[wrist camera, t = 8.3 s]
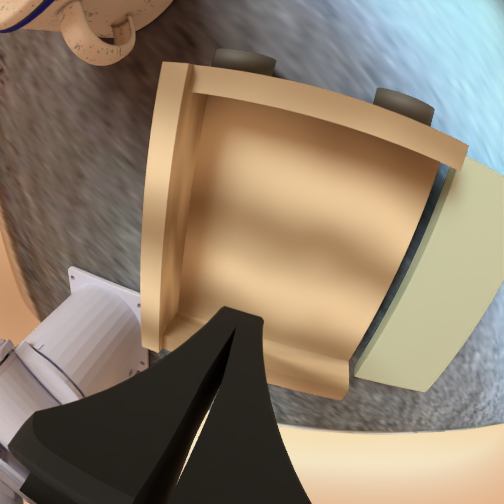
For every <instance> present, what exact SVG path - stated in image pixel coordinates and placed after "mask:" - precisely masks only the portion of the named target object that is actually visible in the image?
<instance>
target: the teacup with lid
mask: <svg viewBox="0 0 504 504" xmlns="http://www.w3.org/2000/svg"><path fill="white" fill-rule="evenodd" d="M172 1H173V0H0V33H8V32H12V31H15V30H18V29H37V30H49V31H59V32H62V35H63V37H64V40H65V42H66V43H67V45H68V46H69V48H70V49H71V50H72V51H73V52H74V53H75V54H76V55H77V56H78V57H79V58H80V59H82V60H83V61H85V62H87V63H89V64H92V65H97V66H106V65H111V64H113V63H116V62H117V61H119V60H121V59H122V58H124V57H125V56H126V55H128V54H129V53H130V52H131V50H132V49H133V47H134V44H135V38H136V36H135V31H137V30H139V29H141V28H142V27H144V26H146V25H147V24H149V23H150V22H152V21H153V20H154V19H156V18H157V17H158V16H159V15H160V14H161V13H162V12H163V11H164V10H165V9H166V8H167V7H168V6H169V5H170V4H171V3H172ZM98 37H102V38H114V45H110V44H107V43H105V42H103V41H102V40H101V39H99V38H98Z"/></svg>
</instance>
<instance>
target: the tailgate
mask: <svg viewBox="0 0 504 504" xmlns="http://www.w3.org/2000/svg"><path fill="white" fill-rule="evenodd" d="M503 280H504V176H503V175H501V174H499V173H497V172H496V171H494V170H492V169H490V168H488V167H487V166H485V165H483V164H481V163H479V162H477V161H475V160H473V159H471V158H469V157H467V156H466V157H465V160H464V163H463V166H462V169H461V171H459V170H457V169H454V168H452V167H449V170H448V173H447V176H446V179H445V182H444V185H443V188H442V190H441V193H440V196H439V199H438V201H437V204H436V206H435V209H434V212H433V214H432V217H431V219H430V221H429V224H428V226H427V229H426V231H425V233H424V236H423V238H422V240H421V243H420V245H419V247H418V249H417V252H416V254H415V256H414V258H413V260H412V263H411V265H410V267H409V269H408V271H407V273H406V275H405V277H404V279H403V281H402V283H401V285H400V287H399V289H398V291H397V293H396V295H395V297H394V299H393V301H392V303H391V305H390V306H389V308H388V310H387V312H386V314H385V316H384V317H383V319H382V321H381V323H380V325H379V326H378V328H377V330H376V332H375V333H374V335H373V337H372V339H371V340H370V342H369V344H368V345H367V347H366V349H365V350H364V352H363V354H362V355H361V357H360V358H359V360H358V362H357V363H356V365H355V367H354V377H358V378H362V379H366V380H370V381H374V382H379V383H383V384H388V385H392V386H397V387H401V388H406V389H411V390H416V391H421V392H426V391H427V390H428V389H429V388H430V387H431V386H432V384H433V383H434V382H435V381H436V379H437V378H438V377H439V376H440V375H441V373H442V372H443V371H444V370H445V368H446V367H447V366H448V364H449V363H450V362H451V361H452V359H453V358H454V357H455V355H456V354H457V353H458V351H459V350H460V348H461V347H462V346H463V344H464V343H465V341H466V340H467V339H468V337H469V336H470V334H471V333H472V331H473V330H474V328H475V327H476V325H477V324H478V322H479V321H480V319H481V318H482V316H483V314H484V313H485V311H486V310H487V308H488V306H489V305H490V303H491V301H492V300H493V298H494V296H495V294H496V293H497V291H498V289H499V287H500V286H501V284H502V282H503Z"/></svg>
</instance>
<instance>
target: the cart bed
mask: <svg viewBox="0 0 504 504" xmlns="http://www.w3.org/2000/svg"><path fill="white" fill-rule="evenodd" d="M275 64H276V60H275V59H273V58H270V57H267V56H264V55H261V54H257V53H252V52H248V51H242V50H234V49H216V50H215V54H214V59H213V63H212V67H209V66H200V65H192V64H188V63H176V62H162V67H161V73H160V78H159V83H158V89H157V95H156V101H155V107H154V114H153V120H152V127H151V135H150V143H149V151H148V160H147V169H146V180H145V191H144V205H143V220H142V241H141V286H140V294H141V339H142V347H145V348H147V349H150V350H152V351H155V352H157V353H159V352H160V350H161V349H162V348H163V349H166V350H169V351H171V352H172V351H173V350H175V349H176V348H177V347H179V346H180V345H181V344H183V343H184V342H185V341H186V340H188V339H189V338H190V337H191V336H192V335H194V334H195V333H196V332H197V331H198V330H199V329H201V328H202V327H203V326H204V325H205V324H206V323H207V322H208V321H209V320H210V319H211V318H212V317H213V316H214V315H215V314H216V313H217V312H218V311H219V309H220V308H221V307H224V306H227V307H230V308H233V309H237V310H240V311H243V312H246V313H250V314H253V315H256V316H260V317H262V318H263V320H264V325H263V356H264V364H265V373H266V379H267V383H269V384H273V385H277V386H280V387H284V388H288V389H292V390H296V391H300V392H304V393H308V394H313V395H317V396H322V397H326V398H331V399H336V400H340V401H341V400H342V399H343V398H344V396H345V395H346V393H347V392H348V391H349V360H350V358H351V357H352V355H353V353H354V352H355V350H356V348H357V346H358V345H359V343H360V341H361V339H362V338H363V336H364V334H365V332H366V331H367V329H368V327H369V325H370V323H371V322H372V320H373V318H374V316H375V314H376V312H377V310H378V308H379V307H380V305H381V303H382V301H383V299H384V297H385V295H386V293H387V291H388V289H389V287H390V285H391V283H392V281H393V279H394V277H395V274H396V272H397V270H398V268H399V266H400V264H401V262H402V259H403V257H404V255H405V253H406V251H407V248H408V246H409V244H410V241H411V239H412V237H413V234H414V232H415V230H416V227H417V225H418V222H419V220H420V217H421V215H422V212H423V210H424V207H425V204H426V202H427V199H428V196H429V194H430V191H431V188H432V185H433V183H434V180H435V177H436V174H437V171H438V168H439V165H440V162H441V163H444V164H446V165H448V166H450V167H452V168H454V169H457V170H459V171H461V169H462V166H463V163H464V160H465V157H466V153H467V150H468V147H469V145H467V144H465V143H463V142H461V141H459V140H457V139H455V138H453V137H451V136H449V135H447V134H444V133H442V132H440V131H438V130H436V129H434V128H431V127H430V125H431V122H432V118H433V114H434V110H435V109H434V108H433V107H431V106H430V105H428V104H426V103H424V102H422V101H420V100H418V99H416V98H413V97H411V96H408V95H406V94H403V93H400V92H396V91H393V90H389V89H385V88H377V91H376V95H375V99H374V103H373V104H370V103H367V102H364V101H361V100H358V99H355V98H352V97H349V96H346V95H342V94H339V93H336V92H332V91H329V90H325V89H321V88H318V87H314V86H310V85H306V84H302V83H298V82H294V81H289V80H285V79H280V78H276V77H273V72H274V68H275Z"/></svg>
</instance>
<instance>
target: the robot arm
mask: <svg viewBox="0 0 504 504" xmlns="http://www.w3.org/2000/svg"><path fill="white" fill-rule="evenodd" d="M68 273H69V280H70V287H71V293H72V295H71V296H69V297H68V298H67V299H66V300H65V301H64V302H63V303H62V304H61V305H60V306H59V307H58V308H56V309H55V310H54V311H53V312H52V313H51V314H50V315H49V316H48V317H47V318H46V319H45V320H44V321H43V322H42V323H41V324H40V325H39V326H38V327H37V328H36V329H34V330H33V332H31V333H30V334H29V336H27V337H26V338H25V339H24V340H23V341H22V342H21V343H20V344H18V345H17V346H16V347H14V344H13V343H12V342H11V340H9V339H8V340H4V339H0V504H23V501H26V502H28V503H30V504H312V503H311V501H310V500H309V498H308V496H307V494H306V493H305V491H304V489H303V487H302V485H301V483H300V481H299V478H298V476H297V474H296V472H295V470H294V468H293V465H292V463H291V461H290V458H289V456H288V453H287V451H286V449H285V446H284V443H283V441H282V438H281V435H280V432H279V429H278V426H277V422H276V419H275V415H274V412H273V408H272V404H271V400H270V395H269V390H268V385H267V379H266V373H265V364H264V356H263V325H264V320H263V318H262V317H260V316H256V315H253V314H250V313H246V312H243V311H240V310H237V309H233V308H230V307H227V306H224V307H221V308H220V309H219V311H218V312H217V313H216V314H215V315H214V316H213V317H212V318H211V319H210V320H209V321H208V322H207V323H206V324H205V325H204V326H203V327H202V328H201V329H199V330H198V331H197V332H196V333H195V334H194V335H192V336H191V337H190V338H189V339H188V340H186V341H185V342H184V343H183V344H181V345H180V346H179V347H177V348H176V349H175V350H173V351H172V352H171V353H169V354H168V355H166V356H165V357H164V358H162V359H161V360H159V361H158V362H156V363H155V364H153V365H151V366H150V367H149V358H148V349H147V348H145V347H142V339H141V305H140V304H141V294H140V293H139V292H136V291H133V290H131V289H128V288H126V287H123V286H120V285H118V284H115V283H113V282H110V281H108V280H105V279H103V278H100V277H98V276H96V275H93V274H91V273H88V272H86V271H84V270H81V269H79V268H76V267H74V266H71V267H70V268H69V269H68ZM13 347H14V348H13ZM12 348H13V349H12ZM137 370H138V371H141V372H140V373H138V374H136V375H135V373H136V372H137ZM220 385H221V386H220ZM219 387H220V388H219ZM218 389H219V391H218ZM217 391H218V393H217ZM216 393H217V395H216ZM215 396H216V398H215ZM214 398H215V400H214ZM213 400H214V403H213V405H212V407H211V410H210V412H209V414H208V417H207V419H206V421H205V424H204V426H203V428H202V431H201V433H200V436H199V437H198V440H197V442H196V444H195V447H194V449H193V451H192V453H191V455H190V458H189V459H188V462H187V464H186V466H185V468H184V470H183V472H182V474H181V471H182V469H183V466H184V463H185V461H186V458H187V456H188V453H189V450H190V448H191V445H192V443H193V440H194V438H195V436H196V434H197V431H198V429H199V427H200V425H201V423H202V421H203V419H204V417H205V415H206V414H207V412H208V410H209V408H210V406H211V404H212V402H213ZM180 474H181V476H180ZM179 476H180V479H179ZM178 479H179V481H178ZM177 482H178V483H177ZM176 484H177V485H176Z"/></svg>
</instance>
